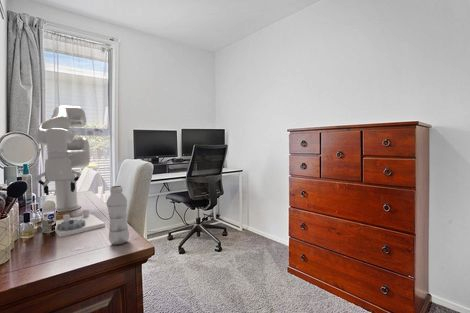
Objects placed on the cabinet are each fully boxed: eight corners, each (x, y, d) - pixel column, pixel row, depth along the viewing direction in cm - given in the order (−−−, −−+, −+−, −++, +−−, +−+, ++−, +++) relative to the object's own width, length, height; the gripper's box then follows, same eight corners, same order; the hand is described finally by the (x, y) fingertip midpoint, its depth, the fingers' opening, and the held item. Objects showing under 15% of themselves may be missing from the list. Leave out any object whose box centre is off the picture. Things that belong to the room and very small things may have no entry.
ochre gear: (51, 220, 119) (51, 213, 119) (69, 216, 124) (69, 210, 124) (54, 223, 114) (53, 217, 114) (73, 219, 119) (72, 213, 118)
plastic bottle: (119, 248, 86) (116, 188, 84) (104, 245, 88) (101, 187, 87) (133, 240, 92) (131, 185, 91) (118, 238, 94) (116, 184, 93)
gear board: (50, 225, 112) (50, 215, 111) (91, 217, 123) (91, 207, 122) (59, 237, 97) (58, 225, 97) (104, 226, 108) (104, 216, 108)
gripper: (77, 154, 125) (79, 189, 126) (32, 156, 114) (35, 195, 114) (81, 154, 120) (83, 191, 121) (34, 156, 108) (37, 197, 109)
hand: (60, 193), depth 117 cm, fingers open, 9 cm apart
